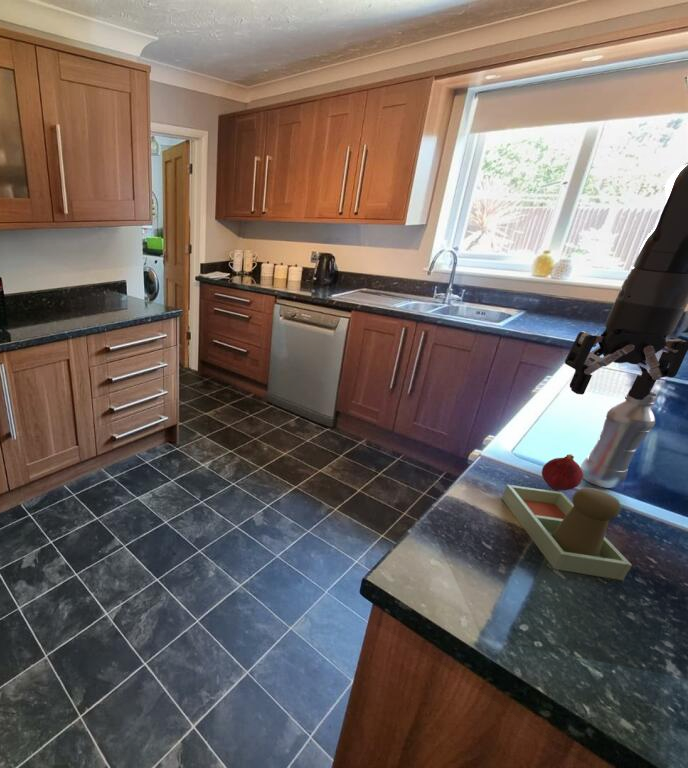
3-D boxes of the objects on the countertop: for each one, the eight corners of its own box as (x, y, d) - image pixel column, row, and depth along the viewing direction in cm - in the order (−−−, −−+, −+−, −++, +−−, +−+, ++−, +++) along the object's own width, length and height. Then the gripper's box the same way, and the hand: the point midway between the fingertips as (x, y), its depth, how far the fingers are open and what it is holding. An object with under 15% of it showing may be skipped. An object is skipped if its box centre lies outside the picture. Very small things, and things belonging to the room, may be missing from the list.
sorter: (555, 505, 78) (562, 492, 77) (623, 580, 63) (632, 565, 62) (501, 497, 80) (506, 484, 79) (553, 569, 65) (561, 553, 63)
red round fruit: (576, 503, 79) (594, 468, 76) (537, 492, 82) (553, 457, 79) (571, 487, 83) (587, 453, 80) (534, 477, 86) (549, 443, 83)
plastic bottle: (568, 475, 87) (610, 387, 79) (590, 470, 89) (633, 383, 81) (605, 495, 81) (654, 402, 73) (627, 488, 83) (678, 397, 75)
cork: (607, 562, 65) (640, 505, 61) (575, 566, 64) (605, 509, 60) (568, 534, 71) (596, 480, 66) (537, 538, 70) (563, 483, 65)
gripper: (614, 302, 63) (571, 400, 69) (731, 308, 60) (674, 409, 67) (581, 292, 70) (545, 382, 76) (684, 297, 67) (637, 390, 74)
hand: (605, 395), depth 71 cm, fingers open, 8 cm apart
